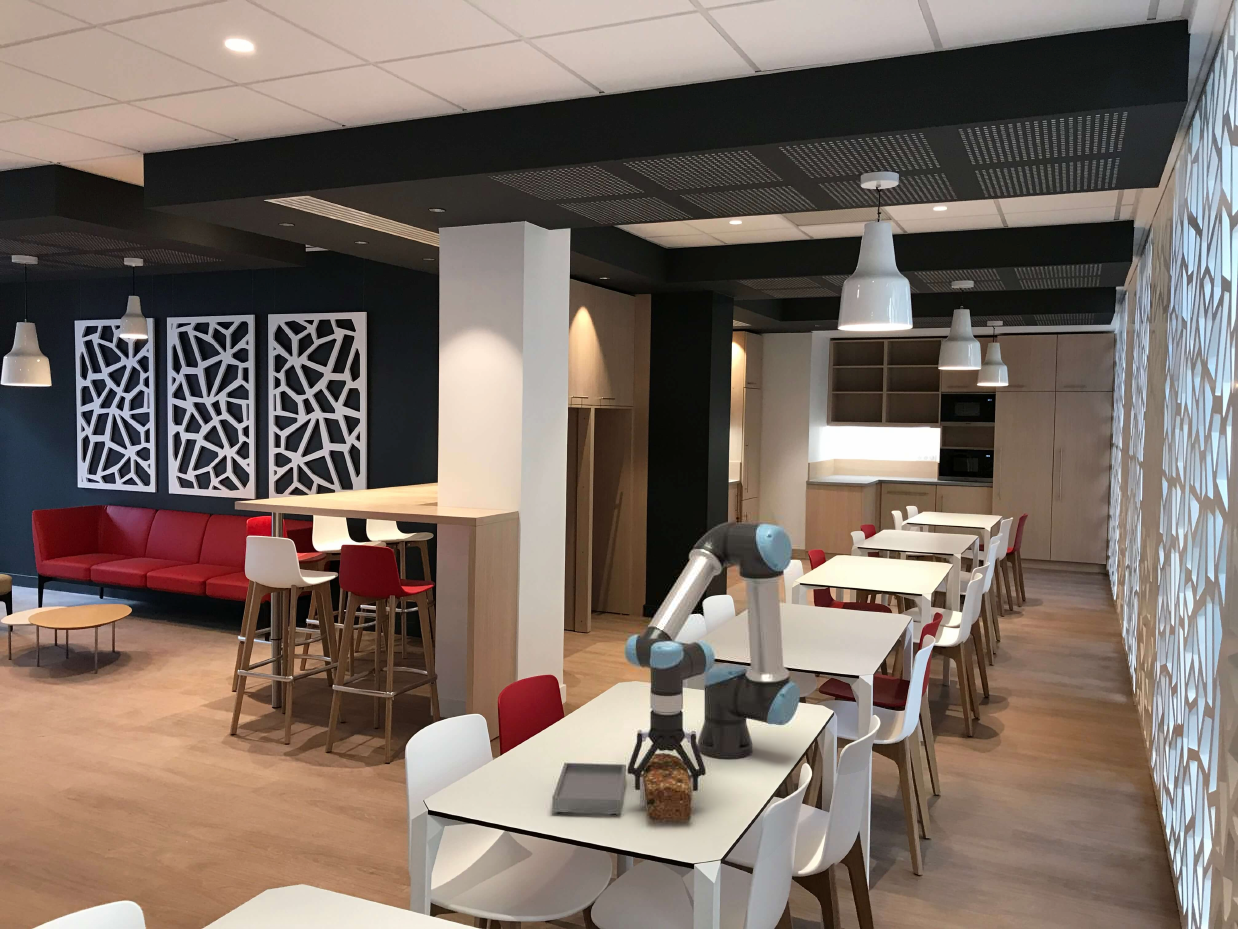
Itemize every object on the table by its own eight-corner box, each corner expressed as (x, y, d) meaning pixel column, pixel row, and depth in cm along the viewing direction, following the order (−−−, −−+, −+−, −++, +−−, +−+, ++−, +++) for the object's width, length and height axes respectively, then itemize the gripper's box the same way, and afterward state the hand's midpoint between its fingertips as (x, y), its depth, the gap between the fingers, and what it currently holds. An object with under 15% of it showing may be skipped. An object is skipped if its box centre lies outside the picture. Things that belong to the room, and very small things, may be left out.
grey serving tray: (625, 781, 242) (626, 764, 242) (620, 818, 219) (620, 799, 218) (564, 779, 243) (564, 762, 243) (552, 815, 219) (552, 797, 219)
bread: (642, 791, 232) (642, 750, 232) (686, 790, 232) (686, 750, 232) (645, 823, 214) (645, 778, 213) (693, 822, 214) (693, 778, 213)
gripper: (716, 706, 225) (716, 798, 226) (617, 704, 227) (617, 796, 227) (717, 715, 218) (717, 811, 219) (615, 714, 219) (615, 809, 220)
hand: (666, 803), depth 223 cm, fingers closed on bread, 11 cm apart
